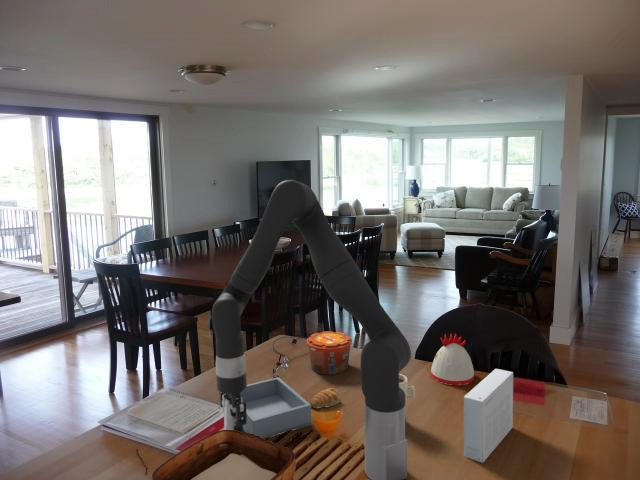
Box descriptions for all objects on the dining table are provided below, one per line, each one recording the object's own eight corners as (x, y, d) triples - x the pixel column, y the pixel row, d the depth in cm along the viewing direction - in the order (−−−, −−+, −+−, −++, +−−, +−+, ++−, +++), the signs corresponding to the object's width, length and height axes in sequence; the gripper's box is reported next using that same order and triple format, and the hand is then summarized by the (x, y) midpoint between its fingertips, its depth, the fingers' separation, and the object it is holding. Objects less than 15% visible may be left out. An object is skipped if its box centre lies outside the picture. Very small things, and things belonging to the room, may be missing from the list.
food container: (360, 364, 184) (360, 335, 183) (337, 380, 171) (337, 349, 169) (322, 355, 193) (321, 327, 191) (297, 370, 180) (297, 341, 178)
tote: (311, 425, 143) (311, 404, 142) (254, 442, 135) (253, 421, 134) (279, 395, 161) (278, 377, 160) (226, 409, 153) (225, 389, 152)
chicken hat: (427, 368, 180) (428, 326, 178) (468, 368, 180) (469, 326, 177) (435, 385, 166) (436, 341, 164) (478, 386, 166) (480, 341, 163)
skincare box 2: (493, 421, 144) (495, 367, 141) (513, 428, 140) (516, 372, 138) (461, 456, 128) (463, 395, 125) (482, 464, 124) (485, 402, 122)
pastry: (319, 413, 150) (319, 400, 149) (304, 405, 155) (304, 393, 154) (342, 402, 156) (342, 390, 156) (327, 395, 161) (327, 383, 161)
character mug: (373, 426, 142) (373, 382, 140) (376, 414, 149) (376, 371, 146) (413, 431, 139) (414, 385, 137) (414, 418, 146) (415, 374, 144)
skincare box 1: (223, 438, 137) (221, 395, 135) (240, 435, 138) (239, 392, 136) (226, 450, 131) (224, 406, 129) (244, 447, 132) (242, 403, 131)
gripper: (255, 377, 127) (257, 440, 130) (235, 358, 140) (237, 415, 142) (226, 384, 124) (229, 448, 126) (207, 364, 136) (210, 423, 139)
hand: (233, 431), depth 134 cm, fingers closed on skincare box 1, 6 cm apart
